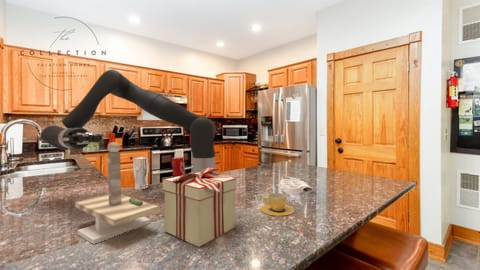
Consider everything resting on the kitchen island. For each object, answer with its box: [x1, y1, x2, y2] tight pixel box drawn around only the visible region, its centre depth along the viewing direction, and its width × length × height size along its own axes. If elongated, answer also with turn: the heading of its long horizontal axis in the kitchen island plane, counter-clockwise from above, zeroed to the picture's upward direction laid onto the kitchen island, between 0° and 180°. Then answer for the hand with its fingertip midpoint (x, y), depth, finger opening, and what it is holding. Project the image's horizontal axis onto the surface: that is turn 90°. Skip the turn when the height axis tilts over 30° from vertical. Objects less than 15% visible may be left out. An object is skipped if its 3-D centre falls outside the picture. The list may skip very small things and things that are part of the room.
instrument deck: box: [74, 141, 159, 226], centre depth 68 cm, size 24×12×20 cm, turn 54°
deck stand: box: [77, 216, 151, 245], centre depth 68 cm, size 10×16×5 cm, turn 144°
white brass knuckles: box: [276, 178, 314, 196], centre depth 109 cm, size 3×18×15 cm
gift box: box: [162, 167, 239, 248], centre depth 66 cm, size 17×18×17 cm
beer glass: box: [132, 156, 150, 191], centre depth 113 cm, size 7×7×15 cm
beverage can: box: [171, 156, 186, 178], centre depth 114 cm, size 6×6×15 cm
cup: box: [259, 192, 296, 217], centre depth 82 cm, size 12×12×5 cm
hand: (96, 138), depth 75 cm, fingers closed
